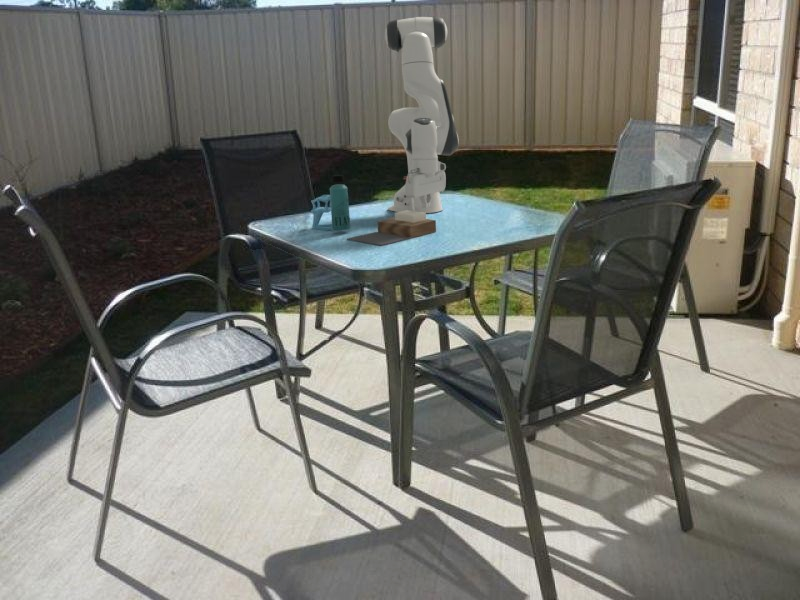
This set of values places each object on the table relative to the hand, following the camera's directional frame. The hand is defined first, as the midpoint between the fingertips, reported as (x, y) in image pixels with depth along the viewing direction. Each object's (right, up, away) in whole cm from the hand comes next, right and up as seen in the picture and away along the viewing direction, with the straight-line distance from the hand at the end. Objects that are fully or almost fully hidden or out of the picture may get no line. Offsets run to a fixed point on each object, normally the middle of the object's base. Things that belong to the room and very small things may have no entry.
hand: (426, 207), depth 285 cm
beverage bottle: (-29, -9, +1) cm, 31 cm away
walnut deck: (-7, -9, -4) cm, 12 cm away
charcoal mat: (-16, -12, -13) cm, 24 cm away
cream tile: (-6, -5, -4) cm, 8 cm away
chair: (-36, -6, +10) cm, 38 cm away
